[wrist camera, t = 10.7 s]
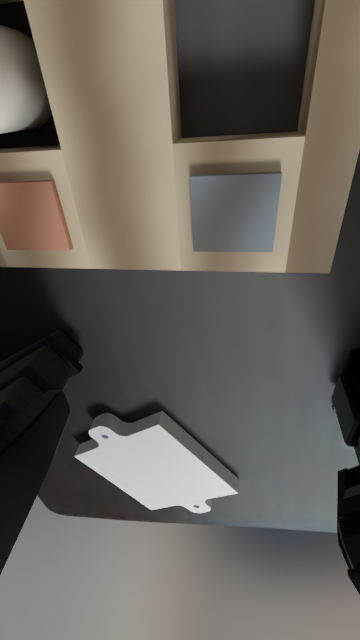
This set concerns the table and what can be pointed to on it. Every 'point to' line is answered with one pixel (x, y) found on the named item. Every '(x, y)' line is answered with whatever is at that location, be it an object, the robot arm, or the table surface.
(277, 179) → the socket board
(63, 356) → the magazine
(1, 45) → the plug
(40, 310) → the table surface
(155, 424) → the mounting plate
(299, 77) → the table surface
